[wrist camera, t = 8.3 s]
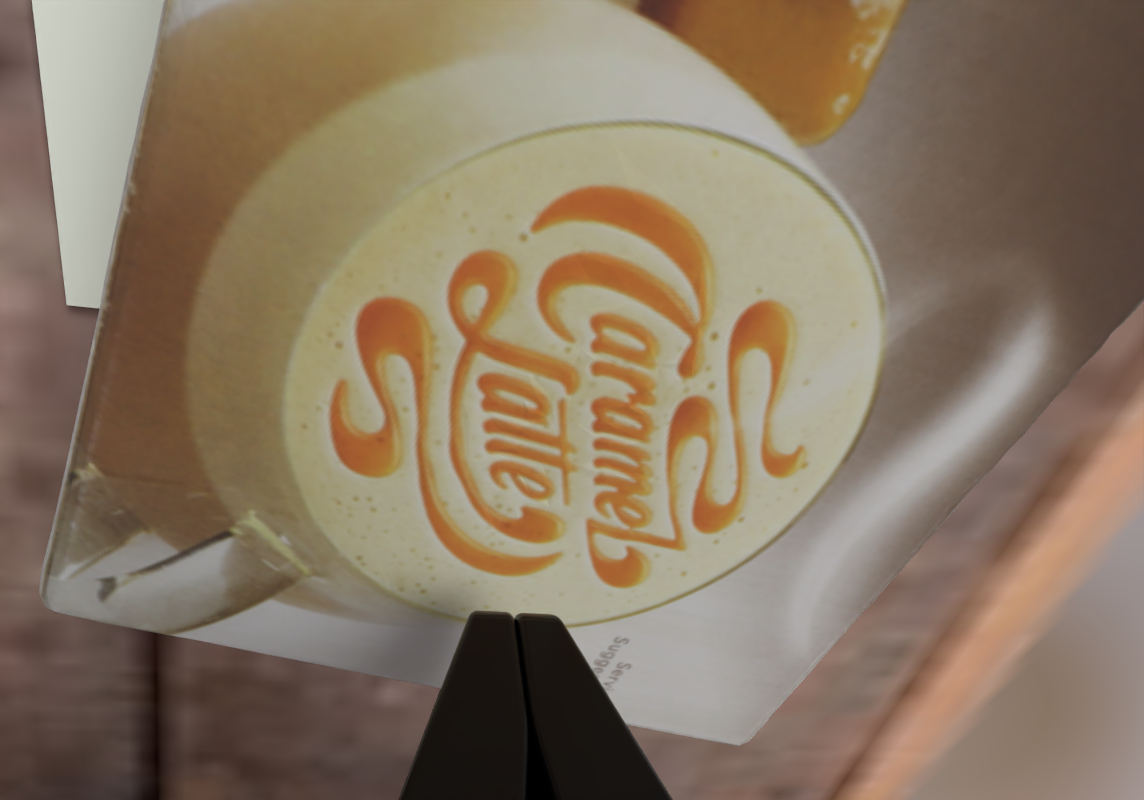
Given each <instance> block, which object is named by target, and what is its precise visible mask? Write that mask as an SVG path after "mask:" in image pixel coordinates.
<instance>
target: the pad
mask: <svg viewBox="0 0 1144 800" xmlns="http://www.w3.org/2000/svg"><path fill="white" fill-rule="evenodd" d="M163 3H164V0H32V6H33V14H34V23H35V32H36V41H37V50H38V58H39V67H40V76H41V85H42V93H43V102H44V111H45V120H46V129H47V137H48V146H49V155H50V164H51V172H52V181H53V190H54V199H55V208H56V216H57V225H58V234H59V243H60V252H61V260H62V269H63V278H64V287H65V295H66V304H67V305H70V306H80V307H89V308H99V309H100V304H101V298H102V292H103V286H104V280H105V275H106V271H107V266H108V261H109V256H110V251H111V247H112V242H113V237H114V232H115V227H116V223H117V218H118V213H119V208H120V203H121V198H122V193H123V188H124V184H125V179H126V174H127V168H128V162H129V158H130V155H131V151H132V147H133V143H134V139H135V134H136V129H137V123H138V118H139V113H140V107H141V103H142V99H143V95H144V91H145V87H146V83H147V79H148V75H149V71H150V67H151V63H152V59H153V55H154V49H155V44H156V39H157V34H158V28H159V23H160V18H161V13H162V8H163Z"/></svg>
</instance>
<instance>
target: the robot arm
mask: <svg viewBox="0 0 1144 800" xmlns="http://www.w3.org/2000/svg"><path fill="white" fill-rule="evenodd" d="M398 800H673V799H672V798H671V796H670V795H669V793H668V791H667V790H666V788H665V786H664V785H663V783H662V782H661V780H660V778H659V777H658V775H657V774H656V772H655V770H654V769H653V767H652V765H651V764H650V762H649V761H648V759H647V757H646V756H645V754H644V753H643V751H642V749H641V748H640V746H639V744H638V743H637V741H636V740H635V738H634V736H633V735H632V733H631V731H630V730H629V728H628V727H627V725H626V723H625V722H624V720H623V719H622V717H621V715H620V714H619V712H618V710H617V709H616V707H615V706H614V704H613V702H612V701H611V699H610V698H609V696H608V694H607V693H606V691H605V689H604V688H603V686H602V685H601V683H600V681H599V680H598V678H597V677H596V675H595V673H594V672H593V670H592V668H591V667H590V665H589V664H588V662H587V660H586V659H585V657H584V655H583V654H582V652H581V651H580V649H579V647H578V646H577V644H576V643H575V641H574V639H573V638H572V636H571V634H570V633H569V631H568V630H567V628H566V626H565V625H564V623H563V622H562V620H561V619H560V618H559V617H557V616H555V615H552V614H537V613H519V614H517V615H516V616H515V618H514V617H513V615H512V614H510V613H508V612H499V611H480V610H477V611H473V612H472V613H471V614H470V615H469V617H468V619H467V621H466V624H465V627H464V629H463V632H462V634H461V637H460V640H459V642H458V645H457V648H456V650H455V653H454V655H453V658H452V661H451V663H450V666H449V668H448V671H447V674H446V676H445V679H444V682H443V684H442V687H441V689H440V692H439V695H438V697H437V700H436V703H435V705H434V708H433V710H432V713H431V716H430V718H429V721H428V723H427V726H426V729H425V731H424V734H423V737H422V739H421V742H420V744H419V747H418V750H417V752H416V755H415V758H414V760H413V763H412V765H411V768H410V771H409V773H408V776H407V779H406V781H405V784H404V786H403V789H402V792H401V794H400V797H399V799H398Z"/></svg>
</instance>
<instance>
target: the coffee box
mask: <svg viewBox="0 0 1144 800" xmlns="http://www.w3.org/2000/svg"><path fill="white" fill-rule="evenodd" d="M1143 301H1144V0H164V3H163V8H162V13H161V18H160V23H159V28H158V34H157V39H156V44H155V49H154V55H153V59H152V63H151V67H150V71H149V75H148V79H147V83H146V87H145V91H144V95H143V99H142V103H141V107H140V113H139V118H138V123H137V129H136V134H135V139H134V143H133V147H132V151H131V155H130V158H129V162H128V168H127V174H126V179H125V184H124V188H123V193H122V198H121V203H120V208H119V213H118V218H117V223H116V227H115V232H114V237H113V242H112V247H111V251H110V256H109V261H108V266H107V271H106V275H105V280H104V286H103V292H102V298H101V304H100V309H99V313H98V318H97V323H96V327H95V332H94V337H93V341H92V346H91V351H90V355H89V360H88V365H87V369H86V374H85V379H84V383H83V388H82V393H81V397H80V402H79V407H78V412H77V416H76V421H75V426H74V430H73V435H72V440H71V445H70V449H69V454H68V459H67V463H66V468H65V473H64V477H63V482H62V486H61V491H60V495H59V500H58V504H57V509H56V514H55V518H54V522H53V526H52V530H51V534H50V538H49V542H48V546H47V550H46V554H45V559H44V563H43V567H42V571H41V578H40V586H39V594H40V597H41V599H42V602H43V604H44V606H45V607H47V608H49V609H50V610H52V611H54V612H56V613H60V614H65V615H71V616H76V617H80V618H85V619H89V620H94V621H98V622H102V623H107V624H112V625H117V626H122V627H128V628H133V629H138V630H144V631H149V632H154V633H160V634H165V635H171V636H176V637H182V638H187V639H193V640H198V641H203V642H208V643H213V644H218V645H223V646H228V647H233V648H238V649H243V650H248V651H253V652H258V653H263V654H268V655H273V656H278V657H283V658H288V659H293V660H298V661H303V662H308V663H313V664H318V665H324V666H329V667H334V668H339V669H344V670H349V671H354V672H359V673H364V674H369V675H374V676H380V677H385V678H390V679H395V680H400V681H406V682H411V683H416V684H421V685H426V686H431V687H436V688H441V687H442V684H443V682H444V679H445V676H446V674H447V671H448V668H449V666H450V663H451V661H452V658H453V655H454V653H455V650H456V648H457V645H458V642H459V640H460V637H461V634H462V632H463V629H464V627H465V624H466V621H467V619H468V617H469V615H470V614H471V613H472V612H473V611H477V610H480V611H499V612H508V613H510V614H512V615H513V617H514V618H515V616H516V615H517V614H519V613H537V614H552V615H555V616H557V617H559V618H560V619H561V620H562V622H563V623H564V625H565V626H566V628H567V630H568V631H569V633H570V634H571V636H572V638H573V639H574V641H575V643H576V644H577V646H578V647H579V649H580V651H581V652H582V654H583V655H584V657H585V659H586V660H587V662H588V664H589V665H590V667H591V668H592V670H593V672H594V673H595V675H596V677H597V678H598V680H599V681H600V683H601V685H602V686H603V688H604V689H605V691H606V693H607V694H608V696H609V698H610V699H611V701H612V702H613V704H614V706H615V707H616V709H617V710H618V712H619V714H620V715H621V717H622V719H623V720H624V722H625V723H626V725H631V726H637V727H642V728H647V729H652V730H657V731H663V732H668V733H673V734H678V735H683V736H689V737H694V738H699V739H704V740H709V741H714V742H719V743H724V744H730V745H737V746H739V745H741V744H744V743H746V742H748V741H749V740H750V739H751V738H752V737H753V736H754V735H755V734H756V733H757V731H758V730H759V729H760V728H762V727H763V725H764V724H765V723H766V721H767V720H768V719H769V717H770V716H771V715H772V714H773V713H774V711H775V710H776V709H777V708H778V707H779V706H780V705H781V704H782V703H783V702H784V701H785V700H786V698H787V697H788V696H789V695H790V694H791V693H792V692H793V691H794V690H795V688H796V687H797V686H798V685H799V684H800V683H801V682H802V681H803V680H804V678H805V677H806V676H807V675H808V674H809V673H810V672H811V671H812V669H813V668H814V667H815V666H816V665H817V664H818V663H819V661H820V660H821V659H822V658H823V657H824V656H825V654H826V653H827V652H828V651H829V650H830V649H831V648H832V646H833V645H834V644H835V643H836V642H837V641H838V640H839V639H840V637H841V636H842V635H843V634H844V633H845V632H846V631H847V630H848V629H849V628H850V626H851V625H852V624H853V623H854V622H855V621H856V620H857V619H858V617H859V616H860V615H861V614H862V613H863V612H864V611H865V610H866V609H867V608H868V607H869V606H870V605H871V604H872V603H873V602H874V600H875V599H876V598H877V597H878V596H879V595H880V593H881V592H882V591H883V590H884V589H885V588H886V586H887V585H888V584H889V583H890V582H891V581H892V580H893V579H894V578H895V577H896V576H897V575H898V574H899V573H900V572H901V571H902V570H903V568H904V567H905V566H906V565H907V563H908V562H909V561H910V560H911V558H912V557H913V556H914V555H915V554H916V553H917V552H918V551H919V550H920V549H921V547H922V546H923V545H924V544H925V543H926V541H927V540H928V539H929V538H930V537H931V536H932V535H933V534H934V533H935V532H936V531H937V529H938V528H939V527H940V526H941V525H942V524H943V523H944V522H945V521H946V520H947V519H948V518H949V516H950V515H951V514H952V513H953V512H954V511H955V510H956V509H957V507H958V506H959V504H960V503H961V502H962V500H963V499H964V498H965V496H966V495H967V494H968V493H969V492H970V491H971V490H972V489H973V488H974V487H975V486H976V485H977V484H978V483H979V482H980V481H981V480H982V479H983V478H984V477H985V476H986V475H987V474H988V473H989V472H990V471H991V470H992V469H993V468H994V467H995V465H996V464H997V463H998V462H999V461H1000V459H1001V458H1002V457H1003V456H1004V455H1005V453H1006V452H1007V451H1008V450H1009V449H1010V448H1011V447H1012V446H1013V445H1014V444H1015V443H1016V442H1017V441H1018V440H1019V439H1020V438H1021V437H1022V436H1023V435H1024V434H1025V432H1026V431H1027V430H1028V429H1029V428H1030V426H1031V425H1032V424H1033V423H1034V422H1035V421H1036V419H1037V418H1038V417H1039V416H1040V415H1041V414H1042V412H1043V411H1044V410H1045V409H1046V408H1047V407H1048V405H1049V404H1050V403H1051V402H1052V401H1053V400H1054V398H1055V397H1056V396H1057V395H1058V394H1059V393H1060V392H1061V391H1062V390H1063V389H1064V388H1065V387H1066V386H1067V385H1068V384H1069V383H1070V382H1071V380H1072V379H1073V378H1074V376H1075V375H1076V374H1077V373H1078V371H1079V370H1080V369H1081V367H1082V366H1083V365H1084V364H1085V363H1086V362H1087V361H1088V360H1089V359H1090V358H1091V357H1092V356H1093V355H1094V354H1095V353H1096V352H1097V351H1098V350H1099V349H1100V348H1101V347H1102V346H1103V344H1104V343H1105V341H1106V340H1107V339H1108V337H1109V336H1110V335H1111V333H1112V332H1113V331H1114V330H1116V329H1117V328H1118V327H1119V326H1120V325H1121V324H1122V323H1123V322H1124V321H1125V320H1126V319H1127V318H1128V317H1129V316H1130V315H1131V314H1132V313H1133V312H1134V311H1135V310H1136V309H1137V308H1138V307H1139V305H1140V304H1141V303H1142V302H1143Z"/></svg>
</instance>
